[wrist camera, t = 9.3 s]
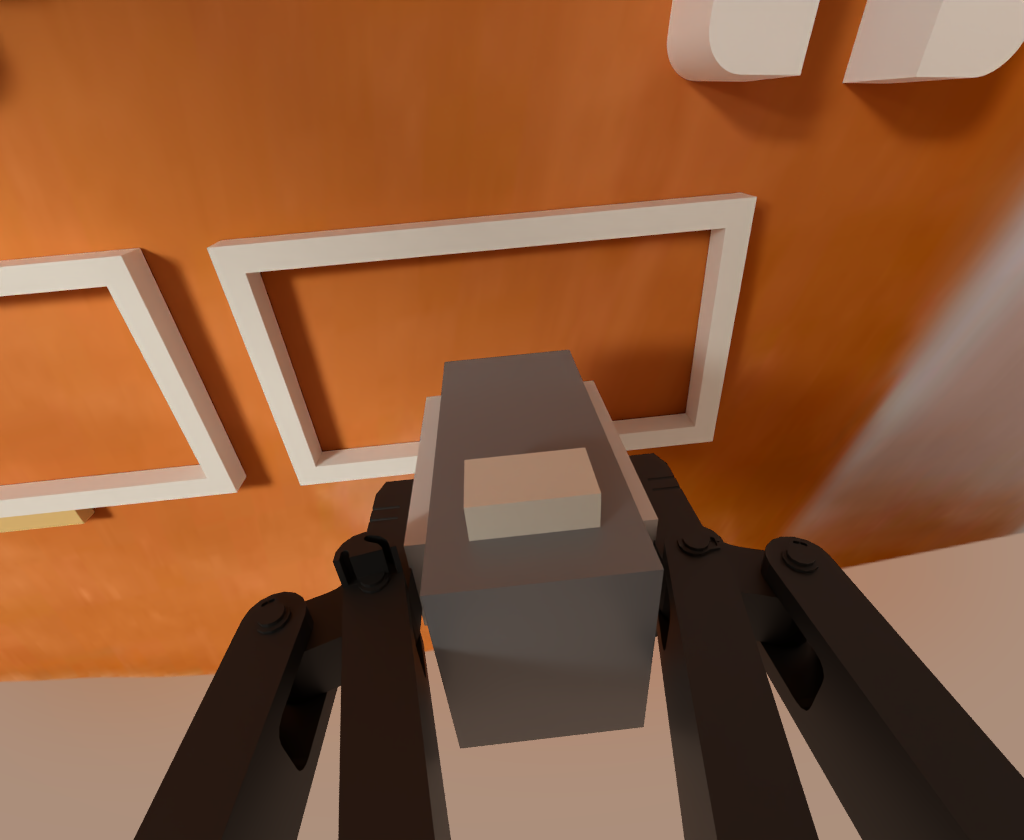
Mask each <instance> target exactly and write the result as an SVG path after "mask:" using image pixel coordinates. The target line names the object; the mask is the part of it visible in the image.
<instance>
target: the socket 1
mask: <svg viewBox="0 0 1024 840" xmlns="http://www.w3.org/2000/svg"><path fill="white" fill-rule="evenodd" d="M105 286H107V288H108V290H109V292H110V293H111V295H112V297H113V299H114V301H115V303H116V305H117V307H118V309H119V311H120V313H121V315H122V316H123V318H124V320H125V322H126V324H127V326H128V328H129V330H130V332H131V334H132V336H133V337H134V339H135V341H136V343H137V345H138V347H139V349H140V351H141V353H142V355H143V357H144V359H145V360H146V362H147V364H148V366H149V368H150V370H151V372H152V374H153V376H154V378H155V380H156V381H157V383H158V385H159V387H160V389H161V391H162V393H163V395H164V397H165V399H166V401H167V403H168V404H169V406H170V408H171V410H172V412H173V414H174V416H175V418H176V420H177V422H178V424H179V425H180V427H181V429H182V431H183V433H184V435H185V437H186V439H187V441H188V443H189V445H190V447H191V448H192V450H193V452H194V454H195V456H196V458H197V460H198V462H199V464H200V465H192V466H182V467H173V468H163V469H154V470H144V471H135V472H125V473H116V474H106V475H97V476H87V477H78V478H68V479H59V480H50V481H40V482H31V483H21V484H12V485H2V486H0V532H11V531H20V530H29V529H38V528H47V527H57V526H66V525H75V524H84V523H85V522H86V521H87V520H88V519H89V518H90V517H91V516H92V515H93V514H94V513H95V512H94V510H93V509H92V508H97V507H106V506H116V505H125V504H134V503H143V502H153V501H162V500H171V499H181V498H190V497H199V496H209V495H218V494H227V493H237V492H238V490H239V488H240V487H241V485H242V483H243V482H244V480H245V478H246V477H247V476H246V474H245V472H244V470H243V468H242V466H241V464H240V461H239V459H238V457H237V455H236V453H235V451H234V448H233V446H232V444H231V442H230V440H229V438H228V436H227V433H226V431H225V429H224V427H223V425H222V423H221V421H220V418H219V416H218V414H217V412H216V410H215V408H214V406H213V403H212V401H211V399H210V397H209V395H208V393H207V391H206V388H205V386H204V384H203V382H202V380H201V378H200V376H199V373H198V371H197V369H196V367H195V365H194V363H193V361H192V358H191V356H190V354H189V352H188V350H187V348H186V345H185V343H184V341H183V339H182V337H181V335H180V333H179V330H178V328H177V326H176V324H175V322H174V320H173V318H172V315H171V313H170V311H169V309H168V307H167V305H166V303H165V300H164V298H163V296H162V294H161V292H160V290H159V288H158V285H157V283H156V281H155V279H154V277H153V275H152V273H151V270H150V268H149V266H148V264H147V262H146V260H145V258H144V255H143V253H142V251H141V249H140V248H133V249H122V250H111V251H101V252H90V253H79V254H68V255H57V256H46V257H35V258H25V259H14V260H3V261H0V296H10V295H20V294H31V293H42V292H52V291H63V290H74V289H84V288H95V287H105Z"/></svg>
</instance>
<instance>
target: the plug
mask: <svg viewBox="0 0 1024 840" xmlns="http://www.w3.org/2000/svg"><path fill="white" fill-rule="evenodd" d="M663 572H664V569H663V566H662V564H661V562H660V559H659V557H658V555H657V552H656V550H655V548H654V545H653V543H652V541H651V538H650V536H649V534H648V531H647V529H646V527H645V524H644V522H643V520H642V517H641V515H640V513H639V511H638V508H637V506H636V504H635V501H634V499H633V497H632V494H631V492H630V490H629V487H628V485H627V483H626V480H625V478H624V476H623V473H622V471H621V469H620V466H619V464H618V462H617V459H616V457H615V455H614V452H613V450H612V448H611V445H610V443H609V441H608V439H607V436H606V434H605V432H604V429H603V427H602V425H601V422H600V420H599V418H598V415H597V413H596V411H595V408H594V406H593V404H592V401H591V399H590V397H589V394H588V392H587V390H586V387H585V385H584V383H583V380H582V378H581V376H580V374H579V371H578V369H577V367H576V364H575V362H574V360H573V357H572V355H571V353H570V350H562V351H552V352H542V353H531V354H521V355H511V356H501V357H491V358H481V359H471V360H461V361H451V362H445V364H444V374H443V383H442V392H441V402H440V411H439V421H438V430H437V440H436V449H435V458H434V468H433V477H432V487H431V496H430V505H429V515H428V524H427V534H426V543H425V553H424V562H423V571H422V581H421V590H420V599H421V602H422V606H423V610H424V614H425V617H426V621H427V625H428V629H429V633H430V636H431V640H432V644H433V648H434V651H435V655H436V659H437V662H438V666H439V670H440V674H441V678H442V682H443V685H444V689H445V693H446V696H447V700H448V704H449V708H450V712H451V715H452V719H453V723H454V726H455V730H456V734H457V738H458V742H459V746H460V748H468V747H476V746H485V745H493V744H502V743H511V742H519V741H527V740H536V739H545V738H553V737H562V736H570V735H578V734H588V733H595V732H604V731H613V730H621V729H630V728H638V727H644V719H645V711H646V703H647V695H648V687H649V680H650V673H651V664H652V657H653V649H654V641H655V634H656V626H657V618H658V611H659V603H660V595H661V588H662V580H663Z"/></svg>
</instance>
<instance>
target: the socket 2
mask: <svg viewBox="0 0 1024 840" xmlns="http://www.w3.org/2000/svg"><path fill="white" fill-rule="evenodd" d="M756 199H757V197H755V196H752V195H748V194H745V193H730V194H719V195H709V196H698V197H687V198H676V199H665V200H654V201H643V202H633V203H622V204H611V205H600V206H589V207H578V208H567V209H557V210H546V211H535V212H524V213H513V214H502V215H491V216H481V217H470V218H459V219H448V220H437V221H426V222H415V223H405V224H394V225H383V226H372V227H361V228H350V229H339V230H329V231H318V232H307V233H296V234H285V235H274V236H263V237H253V238H242V239H231V240H221V241H219V242H217V243H215V244H213V245H211V246H209V247H207V250H208V252H209V255H210V257H211V260H212V262H213V265H214V267H215V270H216V272H217V275H218V278H219V280H220V283H221V285H222V288H223V290H224V293H225V295H226V298H227V300H228V303H229V305H230V308H231V310H232V313H233V316H234V318H235V321H236V323H237V326H238V328H239V331H240V333H241V336H242V338H243V341H244V343H245V346H246V348H247V351H248V353H249V356H250V359H251V361H252V364H253V366H254V369H255V371H256V374H257V376H258V379H259V381H260V384H261V386H262V389H263V391H264V394H265V397H266V399H267V402H268V404H269V407H270V409H271V412H272V414H273V417H274V419H275V422H276V424H277V427H278V429H279V432H280V435H281V437H282V440H283V442H284V445H285V447H286V450H287V452H288V455H289V457H290V460H291V462H292V465H293V467H294V470H295V473H296V475H297V478H298V480H299V483H300V485H301V486H302V485H311V484H320V483H330V482H339V481H348V480H357V479H367V478H376V477H385V476H395V475H404V474H413V473H415V469H416V462H417V456H418V449H419V443H420V441H419V442H409V443H400V444H391V445H381V446H372V447H362V448H353V449H343V450H334V451H324V452H322V450H321V447H320V444H319V441H318V438H317V436H316V433H315V430H314V427H313V424H312V421H311V418H310V415H309V413H308V410H307V407H306V404H305V401H304V398H303V395H302V392H301V390H300V387H299V384H298V381H297V378H296V375H295V372H294V369H293V367H292V364H291V361H290V358H289V355H288V352H287V349H286V346H285V343H284V341H283V338H282V335H281V332H280V329H279V326H278V323H277V320H276V318H275V315H274V312H273V309H272V306H271V303H270V300H269V297H268V295H267V292H266V289H265V286H264V283H263V280H262V277H261V274H260V272H265V271H275V270H286V269H296V268H307V267H318V266H328V265H339V264H349V263H360V262H371V261H381V260H392V259H402V258H413V257H424V256H434V255H445V254H455V253H466V252H477V251H487V250H498V249H509V248H519V247H530V246H540V245H551V244H562V243H572V242H583V241H593V240H604V239H615V238H625V237H636V236H646V235H657V234H668V233H678V232H689V231H700V230H710V229H711V235H710V242H709V249H708V256H707V263H706V271H705V278H704V285H703V292H702V299H701V306H700V314H699V321H698V328H697V335H696V342H695V349H694V357H693V364H692V371H691V378H690V385H689V393H688V400H687V407H686V413H684V414H675V415H665V416H656V417H646V418H637V419H627V420H618V421H613V424H614V426H615V428H616V430H617V432H618V434H619V436H620V439H621V441H622V443H623V445H624V447H625V449H626V451H627V450H637V449H646V448H655V447H664V446H674V445H683V444H692V443H702V442H711V441H713V437H714V431H715V426H716V420H717V415H718V409H719V403H720V398H721V392H722V387H723V381H724V376H725V370H726V365H727V359H728V354H729V348H730V343H731V337H732V332H733V326H734V321H735V315H736V309H737V304H738V298H739V293H740V287H741V282H742V276H743V271H744V265H745V260H746V254H747V249H748V243H749V238H750V232H751V227H752V221H753V215H754V210H755V204H756Z"/></svg>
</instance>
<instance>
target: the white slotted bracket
mask: <svg viewBox="0 0 1024 840" xmlns="http://www.w3.org/2000/svg"><path fill="white" fill-rule="evenodd" d="M819 2H820V0H673V1H672V8H671V16H670V23H669V30H668V37H667V52H668V57H669V60H670V63H671V65H672V67H673V69H674V70H675V71H676V73H677V74H678V75H680V76H681V77H682V78H684V79H687V80H690V81H727V82H747V81H756V80H764V79H773V78H782V77H790V76H799V75H800V74H801V70H802V67H803V63H804V59H805V55H806V51H807V47H808V44H809V40H810V36H811V32H812V28H813V24H814V21H815V17H816V13H817V9H818V5H819ZM1023 41H1024V0H867V3H866V6H865V10H864V13H863V16H862V20H861V23H860V26H859V30H858V33H857V36H856V40H855V43H854V46H853V49H852V53H851V56H850V59H849V63H848V66H847V69H846V73H845V76H844V79H843V83H888V84H890V83H904V82H918V81H932V80H946V79H960V78H974V77H980V76H984V75H986V74H989V73H991V72H993V71H994V70H996V69H998V68H999V67H1000V66H1002V65H1003V64H1004V63H1005V62H1006V61H1008V60H1009V59H1010V58H1011V57H1012V56H1013V54H1014V53H1015V52H1016V51H1017V50H1018V48H1019V47H1020V46H1021V44H1022V43H1023Z"/></svg>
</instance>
